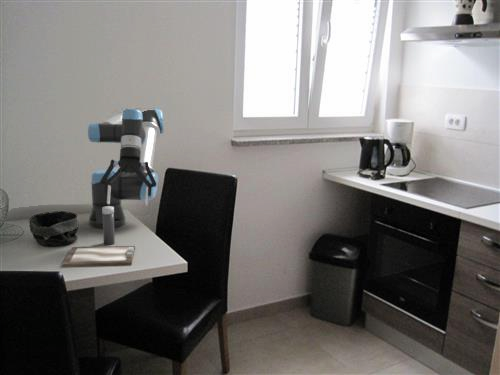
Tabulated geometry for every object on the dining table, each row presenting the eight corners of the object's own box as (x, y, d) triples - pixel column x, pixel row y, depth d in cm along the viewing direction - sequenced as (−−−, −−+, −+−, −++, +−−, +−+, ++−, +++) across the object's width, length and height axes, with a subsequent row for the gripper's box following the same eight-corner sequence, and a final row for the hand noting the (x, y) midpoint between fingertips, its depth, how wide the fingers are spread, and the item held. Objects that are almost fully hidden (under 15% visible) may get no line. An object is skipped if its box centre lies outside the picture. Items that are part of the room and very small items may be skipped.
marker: (104, 241, 181) (102, 206, 178) (115, 241, 181) (114, 206, 178) (102, 245, 177) (101, 209, 174) (114, 245, 177) (113, 209, 174)
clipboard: (72, 249, 171) (72, 243, 171) (135, 248, 175) (135, 242, 174) (62, 266, 156) (62, 260, 156) (131, 264, 159) (131, 258, 159)
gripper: (95, 144, 174) (90, 200, 169) (164, 147, 179) (162, 203, 174) (97, 150, 181) (93, 204, 176) (163, 153, 186) (161, 207, 181)
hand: (127, 204), depth 175 cm, fingers open, 13 cm apart
